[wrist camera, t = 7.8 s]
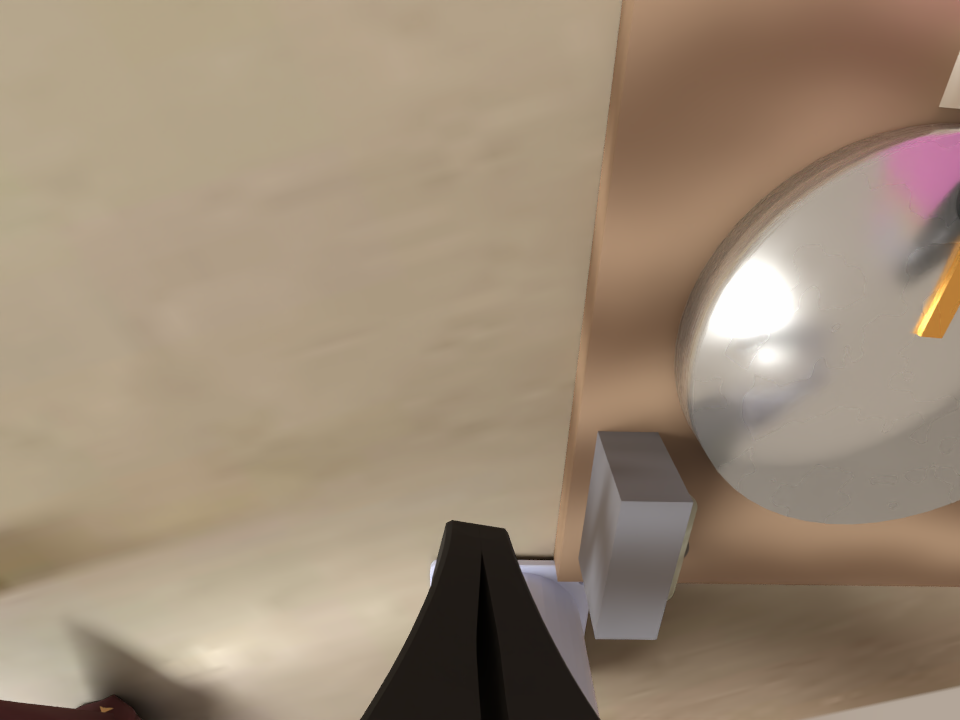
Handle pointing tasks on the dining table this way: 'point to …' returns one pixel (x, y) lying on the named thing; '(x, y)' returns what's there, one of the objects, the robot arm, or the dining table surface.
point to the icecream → (69, 711)
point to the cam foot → (836, 336)
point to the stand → (681, 258)
